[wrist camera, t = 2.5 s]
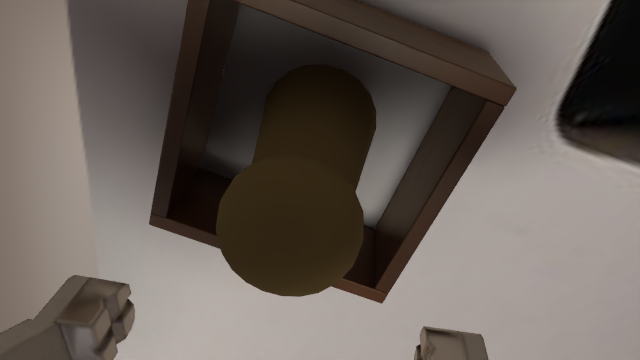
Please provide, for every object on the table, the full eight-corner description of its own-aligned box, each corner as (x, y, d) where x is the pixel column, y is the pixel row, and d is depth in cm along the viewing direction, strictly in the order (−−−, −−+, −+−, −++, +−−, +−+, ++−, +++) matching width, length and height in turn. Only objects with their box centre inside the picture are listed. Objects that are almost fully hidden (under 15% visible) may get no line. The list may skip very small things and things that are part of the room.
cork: (384, 161, 24) (389, 317, 15) (280, 176, 26) (225, 328, 16) (366, 53, 22) (357, 164, 12) (249, 76, 23) (160, 192, 13)
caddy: (185, 174, 26) (148, 225, 22) (233, -50, 20) (194, -39, 16) (381, 243, 27) (382, 304, 23) (489, 52, 21) (518, 88, 17)
